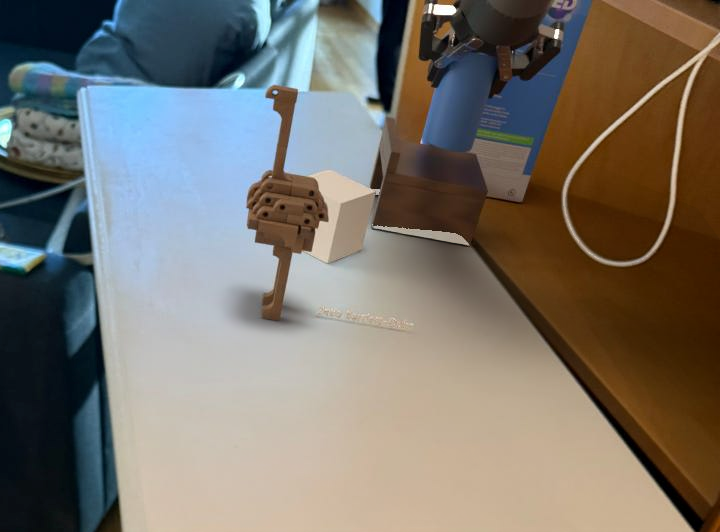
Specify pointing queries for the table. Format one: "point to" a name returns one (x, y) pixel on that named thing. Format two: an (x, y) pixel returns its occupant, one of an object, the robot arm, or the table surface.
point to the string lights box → (524, 111)
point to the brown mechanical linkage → (288, 211)
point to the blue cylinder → (461, 102)
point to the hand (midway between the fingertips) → (461, 84)
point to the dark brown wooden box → (426, 186)
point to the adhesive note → (341, 216)
